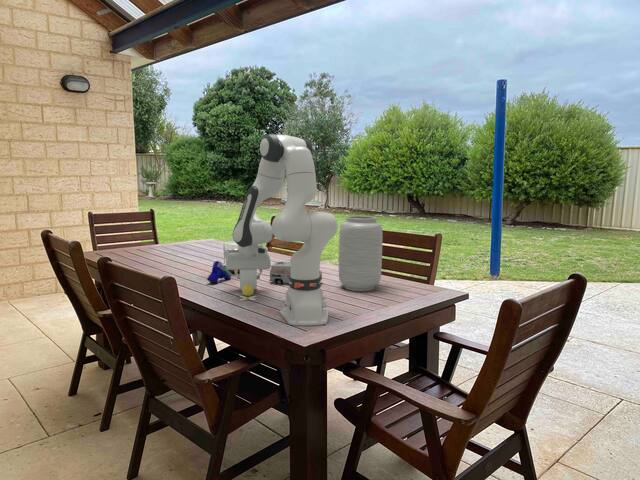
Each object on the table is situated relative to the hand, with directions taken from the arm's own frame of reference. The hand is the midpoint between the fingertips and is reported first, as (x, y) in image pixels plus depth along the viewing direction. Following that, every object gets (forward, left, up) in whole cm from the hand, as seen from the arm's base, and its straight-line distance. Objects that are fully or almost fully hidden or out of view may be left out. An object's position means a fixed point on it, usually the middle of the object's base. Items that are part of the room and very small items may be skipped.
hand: (248, 278), depth 210 cm
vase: (+2, -52, -6) cm, 52 cm away
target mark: (-13, 0, -6) cm, 14 cm away
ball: (-9, 0, -3) cm, 9 cm away
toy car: (+13, -23, -6) cm, 27 cm away
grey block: (0, 0, -4) cm, 4 cm away
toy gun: (+19, +14, -6) cm, 24 cm away
